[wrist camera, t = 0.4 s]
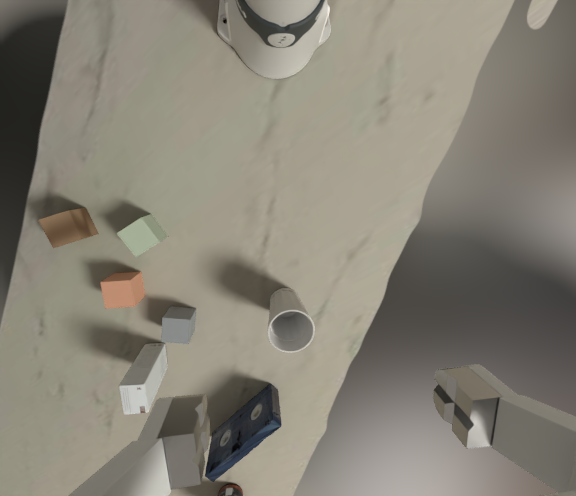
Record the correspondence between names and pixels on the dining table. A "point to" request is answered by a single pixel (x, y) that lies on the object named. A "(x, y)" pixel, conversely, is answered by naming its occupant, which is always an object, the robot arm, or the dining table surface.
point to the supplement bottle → (230, 491)
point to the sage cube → (142, 234)
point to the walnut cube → (68, 227)
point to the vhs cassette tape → (243, 432)
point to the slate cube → (178, 325)
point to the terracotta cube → (123, 289)
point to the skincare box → (143, 379)
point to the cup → (289, 322)
